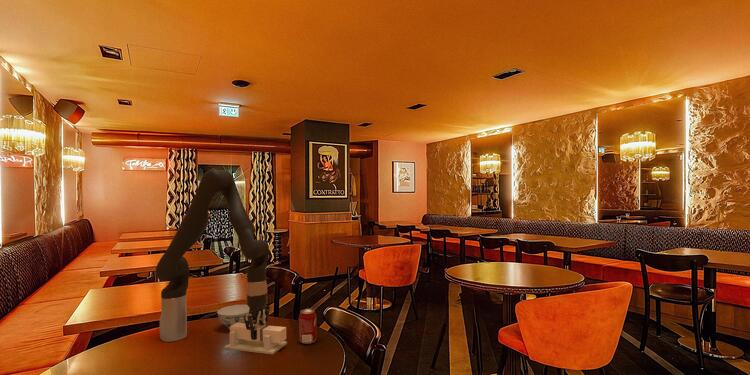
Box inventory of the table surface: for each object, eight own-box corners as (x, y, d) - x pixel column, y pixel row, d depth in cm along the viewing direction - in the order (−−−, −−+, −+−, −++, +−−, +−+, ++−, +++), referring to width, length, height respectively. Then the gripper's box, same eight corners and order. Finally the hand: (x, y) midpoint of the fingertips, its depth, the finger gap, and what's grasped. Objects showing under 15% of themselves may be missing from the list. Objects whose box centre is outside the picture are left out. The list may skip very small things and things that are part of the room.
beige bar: (230, 338, 146) (229, 326, 146) (237, 333, 150) (237, 322, 150) (280, 343, 139) (279, 331, 139) (286, 338, 143) (286, 326, 144)
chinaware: (212, 327, 167) (212, 309, 167) (245, 319, 177) (245, 302, 177) (225, 336, 156) (225, 317, 156) (259, 327, 166) (259, 309, 166)
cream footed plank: (224, 348, 143) (224, 332, 143) (241, 338, 153) (241, 323, 153) (272, 354, 137) (272, 337, 137) (287, 343, 146) (286, 328, 146)
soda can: (313, 345, 144) (312, 314, 144) (296, 344, 145) (295, 313, 146) (319, 338, 151) (318, 308, 151) (303, 337, 152) (302, 308, 152)
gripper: (259, 287, 153) (260, 329, 153) (236, 296, 139) (237, 343, 139) (275, 288, 151) (276, 331, 150) (254, 297, 137) (255, 345, 137)
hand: (257, 336), depth 145 cm, fingers closed on beige bar, 4 cm apart
